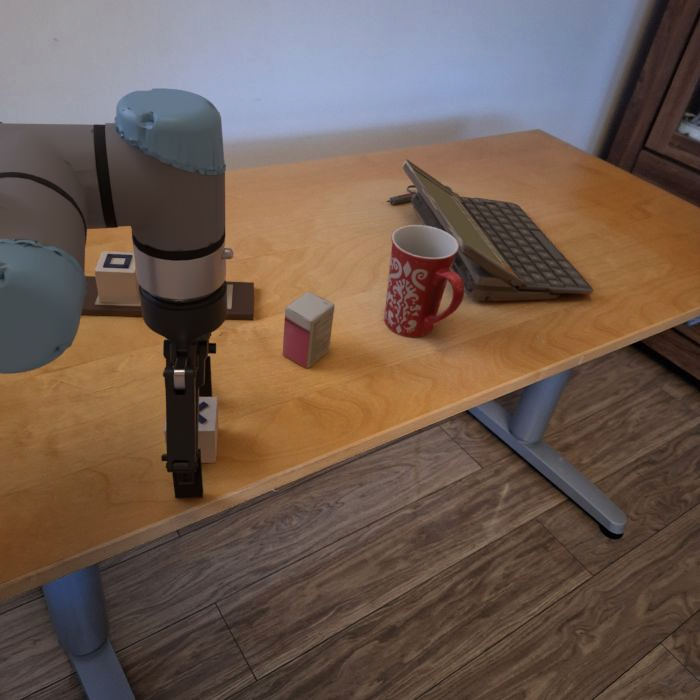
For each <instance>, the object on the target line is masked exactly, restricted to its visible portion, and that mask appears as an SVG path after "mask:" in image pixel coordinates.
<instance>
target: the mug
mask: <svg viewBox="0 0 700 700" xmlns="http://www.w3.org/2000/svg"><path fill="white" fill-rule="evenodd" d="M390 239H391V253H390V259H389V270H388V279H387V288H386V299H385V307H384V316H383V320H384V323H385V325H386V326H387V328H388V329H389V330H390V331H392V332H394V333H396V334H398V335H401V336H403V337H404V336H405V337H409V338H419V337H423V336H426V335H429V334H430V333H431V332H432V331H433V329H434V326H435V324H438V323H439V322H441V321H443V320H446V319H447V318H448V317H450V316H451V315H453V314H454V313H455V312H456V311H457V310H458V309H459V307H460V306H461V304H462V301H463V299H464V294H465V290H464V284H463V281H462V279H461V277H460V276H459V275H458V274H457V273H456V272H454V271H452V269H451V267H452V264H453V261H454V257H455V254H456V253H457V251H458V249H459V244H458V242H457V240H456V239H455V238H454V237H453V236H452V235H450V234H449V233H447V232H445V231H443V230H441V229H438V228H435V227H431V226H425V225H423V224H408V225H404V226H401V227H398V228H397V229H395V230H394V231H393V232H392V233H391V237H390ZM448 282H449V284H450V285H451V288H452V297H451V301H450V304H449V306H448V307H447V308H446V309H445V310H444V311H443V312H441V313H440V314H439V310H440V306H441V303H442V300H443V296H444V293H445V289H446V286H447V283H448Z"/></svg>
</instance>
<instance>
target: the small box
mask: <svg viewBox="0 0 700 700" xmlns="http://www.w3.org/2000/svg"><path fill="white" fill-rule="evenodd" d="M335 306H336V305H335V303H334V302H331V301H329V300H327V299H325V298H323V297H321V296H319V295H317V294H315V293H313V292H311V291H306V292H305V293H304V294H302V295H301V296H299V297H297V298H296V299H295V300H293V301H292V302H290V303H289V304H288V305H286V306H285V307H284V324H283V339H282V356H283V357H286V358H287V359H288V360H290V361H292V362H294V363H295V364H298V365H300V366H301V367H303V368H305V369H309V368H310V367H312V365H314V364H315V363H317V362H318V361H319V360H320V359H321V358H322V357H323V356H325V355H326V354H327V353H328V352H329V351H330V345H331V339H332V338H331V337H332V331H333V330H332V329H333V323H334V322H333V321H334V313H335Z"/></svg>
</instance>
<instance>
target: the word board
mask: <svg viewBox="0 0 700 700" xmlns="http://www.w3.org/2000/svg"><path fill="white" fill-rule="evenodd" d="M85 277H86V281H87V294H86V296H85V297H84V302H83V307H82V313H81V316H109V317H137V318H138V317H139V318H140V317H142V310H141V302H140V299H139V302H138V304H134V303H103V302H100V301H99V295H98V289H97V283H96V278H95V275H85ZM226 283H227V317H226V319H225V320H241V321H242V320H243V321H253V320H254V302H255V301H254V300H255V298H254V297H255V296H254V295H255V293H254V292H255V283H254V282H253V281H252V282H251V281H229V280H228V281H227V280H226ZM142 318H143V317H142Z"/></svg>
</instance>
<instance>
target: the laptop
mask: <svg viewBox="0 0 700 700" xmlns="http://www.w3.org/2000/svg"><path fill="white" fill-rule="evenodd" d="M401 167H402V169H403V171H404V173H405V174H406V176H407V177H408V179H409V180H410V182H411V183H412V185H414V186H415V187H416V188H415V190H416V191H415V192H416V193H415V194H414V195H413V197H412V200H411V204H412V209H413V210H414V212H415V214H416V215H417V217H418V218H419V220H420V222H421V223H422V225H425V226H431V227H435V228H438V229H441V230H443V231H445V232H447V233H449V234H450V235H452V236H453V237H454V238H455V239H456V240H457V242H458V244H459V249H458V251H457V253H456V254H455V257H454V261H453V264H452V267H451V271H454V272H456V273H457V274H458V275H459V276H460V277H461V279H462V281H463V284H464V293H465V294H466V295H467V296H468V298H470V299H472V300H474V301H489V302H492V301H493V302H494V301H495V302H496V301H497V302H502V301H503V302H504V301H532V300H535V301H536V300H553V299H557V298H559V297H560V296H561V294H584V295H592V294H593V293H594V289H593V287H592V286H591V285H590V284H589V282H588V281H587V280H586V278H584V276H583V275H582V273H580V271H578V270H577V268H576V267H575V266H574V265H573V264H572V263H571V262H570V261H569V260H568V259H567V257H566V256H565V255H563V253H562V252H561V251H560V250H559V248H557V247H556V246H555V244H554V243H553V242H552V241H551V240H550V239H549V238H548V237H547V236H546V234H545V233H544V232H543V231H542V230H541V228H540V227H539V226H538V225H537V224H536V223H535V222H534V221H533V219H532V218H531V217H530V216H529V215H528V214H527V213H526V212H525V210H524V209H523V208H522V207H521V206H520V205H519V204H517V203H515V202H510V201H503V200H497V199H490V198H481V197H468V196H460V195H459V194H458V193H456V192H454V191H453V190H452V191H451V190H450V189H449V188H447V187H446V186H447V185H445V184H444V183H442V182H441V181H439V180H438V179H436V178H435V177H433V176H432V175H430V174H429V173H428V172H426V171H425V170H424V169H422V168H421V167H419V166H418V165H416V164H415V163H413V162H412V161H410V160H409V159H405V160H404V162H403V164H402V165H401Z"/></svg>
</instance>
